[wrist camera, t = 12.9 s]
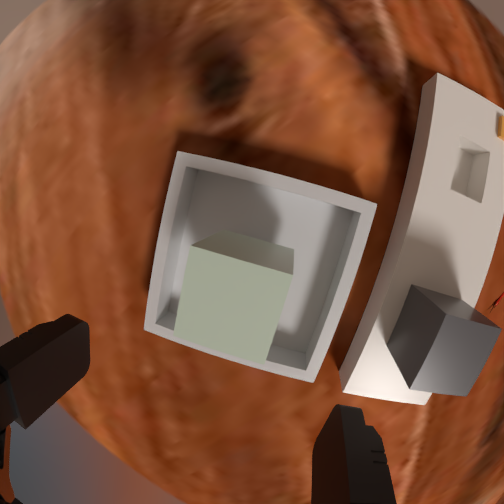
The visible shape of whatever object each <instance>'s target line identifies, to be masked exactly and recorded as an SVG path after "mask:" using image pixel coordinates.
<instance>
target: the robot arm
mask: <svg viewBox="0 0 504 504" xmlns="http://www.w3.org/2000/svg"><path fill="white" fill-rule="evenodd" d="M89 365H90V339H89V325H88V323H87V322H85V321H83V320H81V319H78V318H76V317H74V316H72V315H70V314H66V315H64V316H62V317H60V318H58V319H57V320H55V321H51V322H47V323H42V324H39V325H37V326H35V327H33V328H32V329H30V330H28V332H25V333H23V334H21V335H19V338H18V337H16V338H14V339H13V340H11V341H9V342H7V343H6V344H4V345H2V346H1V347H0V504H23V503H21V502H20V501H19V500H18V499H16V498H15V496H14V491H13V488H12V486H11V483H10V478H9V454H10V437H11V428H10V424H11V423H12V422H13V421H16V422H17V423H18V424H19V425H21V426H22V427H23V428H24V429H27V428H28V427H29V426H30V425H31V424H32V423H33V422H34V421H35V420H36V419H37V418H39V417H40V416H41V415H42V414H43V413H44V412H45V411H46V410H47V409H48V408H50V406H52V405H53V404H54V403H55V402H56V401H57V400H58V399H59V398H61V397H62V396H63V395H64V394H65V393H66V392H67V391H68V390H69V389H70V388H72V387H73V386H74V385H75V384H76V383H77V382H78V381H79V380H81V379H82V378H83V377H84V376H85V374H86V373H87V371H88V369H89ZM384 452H385V450H384V446H383V442H382V438H381V437H380V435H379V434H378V433H377V431H376V430H375V429H374V427H373V426H368V425H365V420H364V416H363V412H362V409H361V408H357V407H350V406H345V405H339V404H337V405H336V406H335V407H334V408H333V410H332V412H331V413H330V415H329V417H328V419H327V421H326V423H325V425H324V426H323V428H322V430H321V432H320V433H319V435H318V437H317V439H316V442H315V444H314V448H313V454H312V497H311V504H396V499H395V494H394V490H393V485H392V480H391V476H390V471H389V467H388V465H387V458H386V454H384Z"/></svg>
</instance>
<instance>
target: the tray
mask: <svg viewBox="0 0 504 504" xmlns="http://www.w3.org/2000/svg"><path fill="white" fill-rule="evenodd" d="M376 207H377V204H376V203H373V202H370V201H367V200H364V199H361V198H358V197H355V196H352V195H349V194H346V193H342V192H339V191H336V190H333V189H329V188H326V187H323V186H319V185H316V184H312V183H309V182H305V181H302V180H298V179H295V178H291V177H287V176H284V175H280V174H276V173H272V172H268V171H264V170H260V169H256V168H252V167H248V166H244V165H240V164H236V163H232V162H227V161H223V160H218V159H214V158H209V157H204V156H200V155H195V154H190V153H185V152H180V151H177V155H176V159H175V163H174V167H173V171H172V175H171V179H170V184H169V188H168V192H167V197H166V201H165V206H164V210H163V215H162V220H161V225H160V230H159V235H158V240H157V246H156V251H155V257H154V263H153V269H152V275H151V281H150V288H149V294H148V301H147V308H146V316H145V324H144V330H146V331H149V332H151V333H154V334H156V335H159V336H161V337H164V338H167V339H169V340H172V341H175V342H178V343H180V344H183V345H186V346H189V347H192V348H194V349H197V350H200V351H203V352H206V353H209V354H212V355H215V356H218V357H222V358H225V359H228V360H231V361H234V362H238V363H241V364H244V365H248V366H251V367H254V368H258V369H262V370H265V371H269V372H272V373H276V374H280V375H284V376H288V377H292V378H296V379H300V380H304V381H308V382H312V383H313V382H314V380H315V378H316V376H317V373H318V371H319V369H320V367H321V364H322V362H323V360H324V357H325V355H326V352H327V350H328V348H329V345H330V343H331V340H332V338H333V335H334V333H335V330H336V328H337V325H338V323H339V320H340V317H341V315H342V312H343V309H344V307H345V304H346V301H347V299H348V296H349V293H350V290H351V287H352V284H353V282H354V279H355V276H356V273H357V270H358V267H359V264H360V261H361V258H362V254H363V251H364V248H365V245H366V242H367V238H368V235H369V232H370V228H371V225H372V221H373V218H374V214H375V211H376ZM222 230H228V231H231V232H235V233H239V234H242V235H246V236H249V237H253V238H256V239H260V240H264V241H267V242H271V243H274V244H278V245H281V246H285V247H288V248H292V249H294V268H293V277H292V281H291V284H290V287H289V290H288V294H287V297H286V300H285V303H284V306H283V309H282V313H281V316H280V319H279V322H278V325H277V328H276V331H275V334H274V337H273V340H272V343H271V346H270V349H269V352H268V355H267V358H266V361H265V364H264V365H263V364H259V363H256V362H252V361H249V360H246V359H242V358H239V357H236V356H232V355H229V354H226V353H223V352H220V351H217V350H213V349H210V348H207V347H204V346H201V345H198V344H196V343H193V342H190V341H187V340H184V339H181V338H178V337H176V336H173V333H174V327H175V322H176V316H177V310H178V305H179V300H180V294H181V289H182V284H183V279H184V274H185V269H186V264H187V259H188V254H189V250H190V245H192V244H194V243H196V242H198V241H201V240H203V239H205V238H207V237H209V236H211V235H213V234H215V233H217V232H219V231H222Z"/></svg>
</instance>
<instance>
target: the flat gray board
mask: <svg viewBox="0 0 504 504" xmlns="http://www.w3.org/2000/svg"><path fill="white" fill-rule="evenodd" d="M503 213H504V110H503V109H501V108H500V107H498V106H497V105H495V104H494V103H492V102H490V101H489V100H487V99H485V98H484V97H482V96H480V95H479V94H477V93H475V92H474V91H472V90H470V89H468V88H466V87H465V86H463V85H461V84H459V83H457V82H455V81H453V80H451V79H449V78H448V77H446V76H443V75H441V74H439V73H436V74H435V75H434V76H433V77H432V78H431V79H429V80H428V81H427V82H426V83H425V84H424V85H423V86H422V94H421V101H420V108H419V114H418V120H417V126H416V132H415V137H414V142H413V147H412V152H411V157H410V162H409V166H408V171H407V175H406V179H405V184H404V188H403V192H402V196H401V200H400V203H399V207H398V211H397V214H396V218H395V222H394V225H393V229H392V232H391V235H390V239H389V242H388V245H387V248H386V251H385V255H384V258H383V261H382V264H381V267H380V270H379V273H378V275H377V278H376V281H375V284H374V287H373V290H372V292H371V295H370V298H369V300H368V303H367V306H366V308H365V311H364V314H363V316H362V319H361V321H360V324H359V326H358V329H357V331H356V333H355V336H354V338H353V341H352V343H351V345H350V348H349V350H348V352H347V354H346V357H345V359H344V361H343V363H342V366H341V368H340V370H339V375H340V380H341V386H342V391H343V392H344V393H349V394H354V395H360V396H365V397H371V398H377V399H383V400H390V401H397V402H404V403H412V404H420V405H425V404H426V402H427V401H428V399H429V397H430V396H431V394H432V393H431V392H424V391H417V390H410V389H409V388H408V386H407V384H406V382H405V380H404V378H403V376H402V374H401V372H400V370H399V368H398V366H397V365H396V363H395V361H394V359H393V357H392V355H391V353H390V351H389V350H388V348H387V346H386V345H387V343H388V341H389V338H390V336H391V334H392V331H393V329H394V327H395V324H396V322H397V320H398V317H399V315H400V312H401V310H402V307H403V305H404V302H405V300H406V297H407V295H408V292H409V289H410V287H411V284H413V285H416V286H419V287H422V288H426V289H429V290H432V291H436V292H439V293H442V294H445V295H449V296H452V297H455V298H458V299H461V300H463V301H464V302H466V303H467V304H469V305H470V306H471V307H473V308H474V307H475V305H476V302H477V300H478V297H479V294H480V292H481V289H482V286H483V283H484V281H485V278H486V275H487V272H488V269H489V265H490V262H491V259H492V256H493V252H494V249H495V245H496V242H497V238H498V234H499V230H500V226H501V222H502V218H503Z"/></svg>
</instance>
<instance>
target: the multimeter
mask: <svg viewBox="0 0 504 504" xmlns="http://www.w3.org/2000/svg"><path fill="white" fill-rule="evenodd" d="M503 296H504V293H503V294H502V295H501V296H500V298H499V299H498V300H497V301H496V303H495V304H494V306H493V308H494V307H495V306H496V305H497V304H499V303H498V302H499V301H500V300H501V298H502V297H503ZM493 308H492V309H493ZM491 311H492V310H491ZM491 311H490V312H491Z"/></svg>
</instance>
